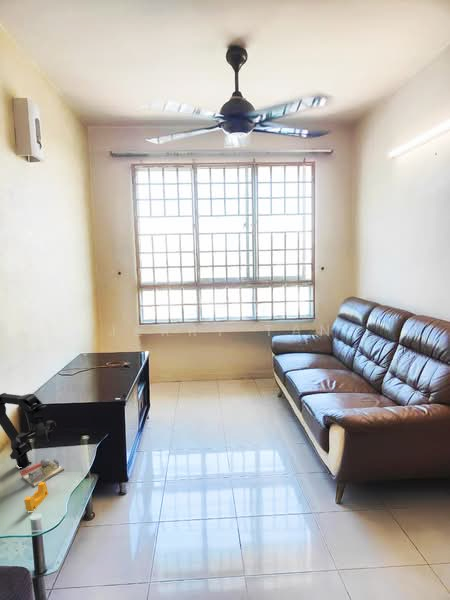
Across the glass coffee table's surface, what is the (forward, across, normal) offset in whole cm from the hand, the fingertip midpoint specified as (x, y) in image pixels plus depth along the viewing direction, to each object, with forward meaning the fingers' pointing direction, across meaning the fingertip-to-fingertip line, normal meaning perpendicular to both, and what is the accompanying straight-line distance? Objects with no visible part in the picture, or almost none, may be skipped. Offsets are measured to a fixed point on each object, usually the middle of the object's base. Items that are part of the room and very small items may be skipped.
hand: (40, 445), depth 201 cm
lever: (+7, -7, -8) cm, 13 cm away
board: (+12, -4, -6) cm, 14 cm away
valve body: (+12, -4, -8) cm, 15 cm away
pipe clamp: (+13, -17, -28) cm, 35 cm away
